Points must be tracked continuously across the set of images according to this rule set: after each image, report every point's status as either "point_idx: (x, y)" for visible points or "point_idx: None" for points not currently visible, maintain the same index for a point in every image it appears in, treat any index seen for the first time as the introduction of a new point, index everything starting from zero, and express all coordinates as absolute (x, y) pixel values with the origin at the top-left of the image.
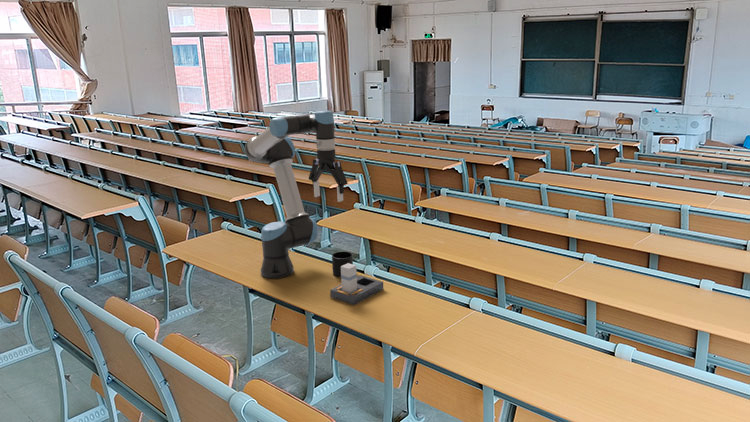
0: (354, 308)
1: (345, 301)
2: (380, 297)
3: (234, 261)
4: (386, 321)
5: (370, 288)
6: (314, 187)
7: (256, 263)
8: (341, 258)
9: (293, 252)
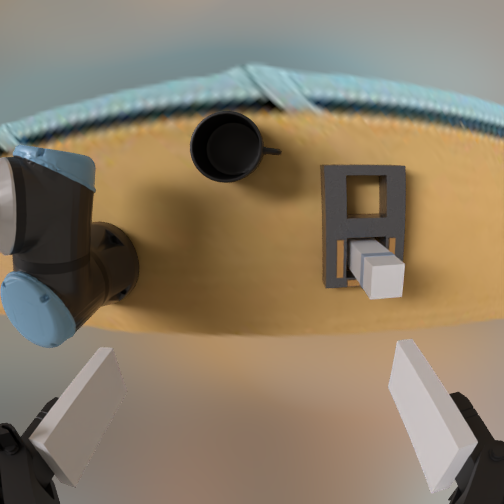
0: None
1: None
2: (417, 206)
3: None
4: (473, 283)
5: (404, 219)
6: (90, 449)
7: None
8: (204, 130)
9: None
